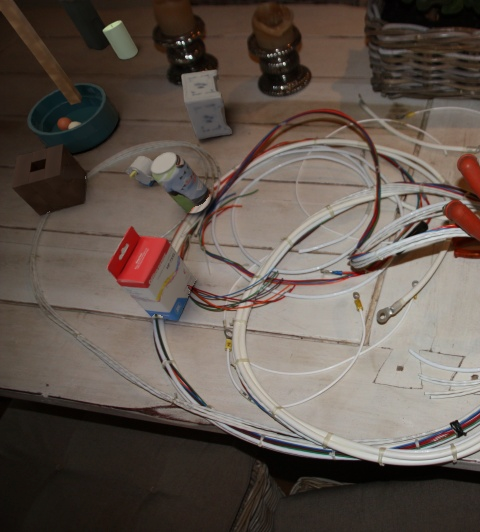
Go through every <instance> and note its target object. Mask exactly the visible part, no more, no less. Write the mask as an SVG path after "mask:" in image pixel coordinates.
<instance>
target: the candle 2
mask: <svg viewBox="0 0 480 532" xmlns="http://www.w3.org/2000/svg"><path fill="white" fill-rule="evenodd" d="M103 32H104V34H105V36H106V37H107V39H108V41H109V42H110V43H109V44H110V46H111V48H112V50H113V51H114V52H115V54H116V55H117V58H118V59H120V60H130V59H132V58H134V57H136V55H138V53H139V50H138V47H137V45H136V44H135V42H134V40H133V39H132V37H131V35H130V32H129V31H128V29H127V28H126V26H125V24H124V23H123V21H122V20H116V21H114V22H112V23H110V24H108V25H107V26H106V28H104V30H103Z"/></svg>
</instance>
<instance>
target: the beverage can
mask: <svg viewBox="0 0 480 532" xmlns="http://www.w3.org/2000/svg"><path fill="white" fill-rule="evenodd" d="M152 161H153V162H152V164H151V171H152V176H153V178H154V179H155V182H156V183H157V184H158V185H159V186H160V187H161V189H163V190H164V192H166V193H167V194H168V195H169V197H171V199H172V200H173V201H174V202H175V203H176V204H177V205H178V206H179V207H180V209H182V210H183V212H184V213H186V214H188V213H189V212H190V211H191V209H192V208H193V207H195V206H199V205H201V204H203V203H204V202H205V201H206V199H207V198H208V197H209V194H210V191H211V190H210V189H209V187H207V185H206V184H205V183H204V182H203V181H202V179H201V178H200V177H199V176H198V175H197V173H196V172H195V171H194V170H193V169H192V168H191V166H190V165H189V164H188V163H187V161H186V160H185V159H184V158H183V157H182V156H181V155H179V154H176V153H174V152H172V151H167V152H163V153H161V154H159V155H158V156H157V157H155V158H154V159H153V160H152Z"/></svg>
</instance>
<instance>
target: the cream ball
mask: <svg viewBox="0 0 480 532" xmlns="http://www.w3.org/2000/svg"><path fill="white" fill-rule="evenodd" d="M80 124H81V123H80V122H72V123H70V124H69V126H68V129H71V128H73V127H76V126H78V125H80Z"/></svg>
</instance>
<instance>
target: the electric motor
mask: <svg viewBox="0 0 480 532" xmlns="http://www.w3.org/2000/svg"><path fill="white" fill-rule="evenodd" d="M153 161H154V160H152V159H150V158H149V157H147V156H144V155H138V156H137V157H136V159H135V160H134V161H133V162H132V163H131V164H130V166H129V167H128V169H125V170H124V172H125V173H126V174H127V175H129V178H130V179H132V180H133V179H135V180H137V181H139V184H140V185H143V186H148V187H151V186H152V185H153V183H155V182H156V180H155V179H154V178H153V176H152V171H151V164H152V162H153Z"/></svg>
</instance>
